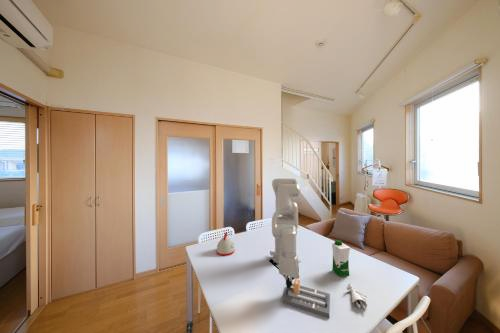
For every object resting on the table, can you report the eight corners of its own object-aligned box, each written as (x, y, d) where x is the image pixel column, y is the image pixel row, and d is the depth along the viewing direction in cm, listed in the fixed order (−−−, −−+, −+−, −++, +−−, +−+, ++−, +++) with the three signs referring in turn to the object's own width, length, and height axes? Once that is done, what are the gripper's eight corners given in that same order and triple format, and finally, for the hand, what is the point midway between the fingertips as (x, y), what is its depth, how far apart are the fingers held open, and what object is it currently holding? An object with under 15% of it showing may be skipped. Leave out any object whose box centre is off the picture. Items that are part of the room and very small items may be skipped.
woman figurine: (348, 301, 87) (338, 279, 105) (349, 310, 87) (338, 287, 105) (375, 304, 85) (360, 282, 102) (376, 314, 85) (360, 290, 102)
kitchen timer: (235, 248, 151) (235, 230, 151) (232, 256, 137) (232, 237, 137) (219, 247, 152) (219, 229, 152) (214, 255, 139) (214, 236, 138)
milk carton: (341, 268, 122) (341, 238, 121) (351, 276, 113) (352, 244, 113) (330, 270, 120) (330, 240, 119) (340, 278, 111) (340, 246, 110)
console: (282, 302, 92) (282, 296, 92) (288, 285, 105) (288, 280, 104) (329, 318, 83) (329, 311, 83) (329, 297, 95) (329, 291, 95)
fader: (293, 294, 94) (293, 283, 94) (294, 289, 98) (294, 278, 98) (298, 296, 93) (298, 284, 93) (300, 291, 97) (300, 280, 97)
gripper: (273, 253, 97) (273, 286, 97) (302, 259, 90) (301, 295, 91) (277, 247, 103) (277, 278, 104) (304, 252, 97) (304, 286, 97)
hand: (288, 286), depth 97 cm, fingers closed
